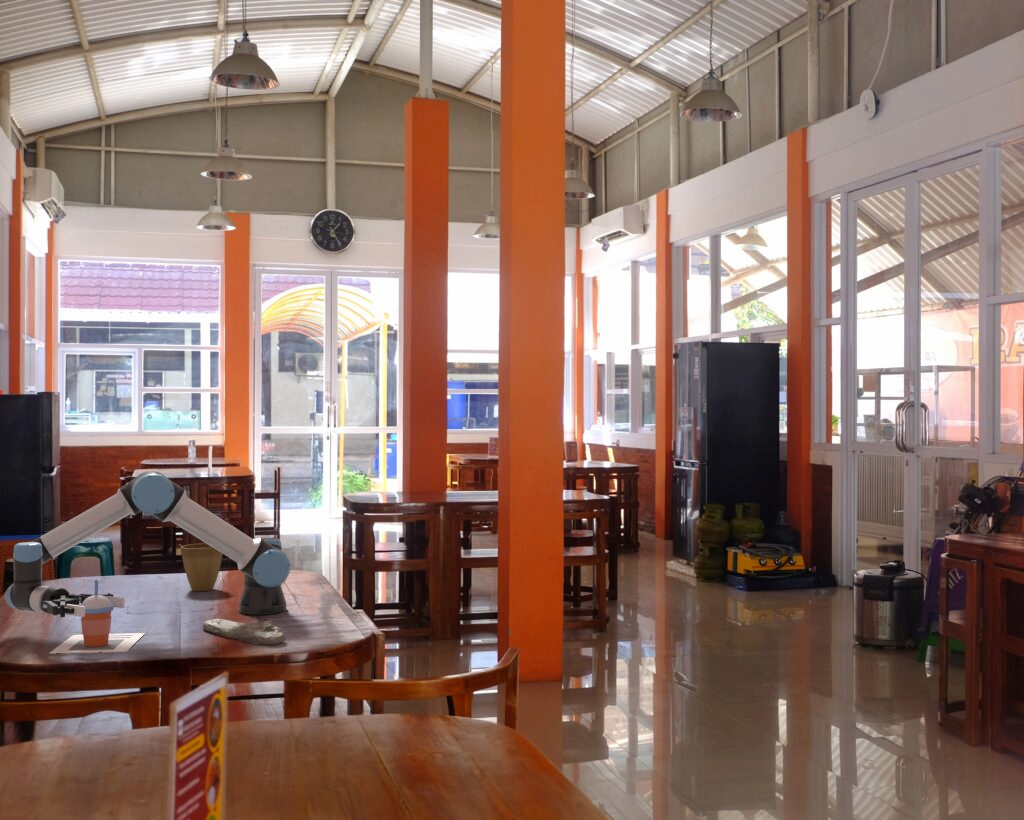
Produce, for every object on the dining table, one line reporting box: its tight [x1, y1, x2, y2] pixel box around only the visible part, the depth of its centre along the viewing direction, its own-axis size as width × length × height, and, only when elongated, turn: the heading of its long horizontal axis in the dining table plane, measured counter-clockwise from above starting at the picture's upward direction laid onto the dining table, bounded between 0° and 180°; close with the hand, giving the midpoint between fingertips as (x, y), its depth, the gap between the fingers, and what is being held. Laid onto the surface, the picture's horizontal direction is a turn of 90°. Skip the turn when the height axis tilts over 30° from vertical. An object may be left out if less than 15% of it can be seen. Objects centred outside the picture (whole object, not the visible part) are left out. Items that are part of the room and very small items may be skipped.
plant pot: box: [180, 543, 224, 592], centre depth 377 cm, size 15×15×16 cm
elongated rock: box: [202, 618, 286, 645], centre depth 303 cm, size 35×5×10 cm
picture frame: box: [49, 632, 146, 655], centre depth 292 cm, size 20×22×1 cm
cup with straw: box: [80, 579, 115, 647], centre depth 289 cm, size 9×9×18 cm
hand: (104, 607), depth 288 cm, fingers open, 13 cm apart
